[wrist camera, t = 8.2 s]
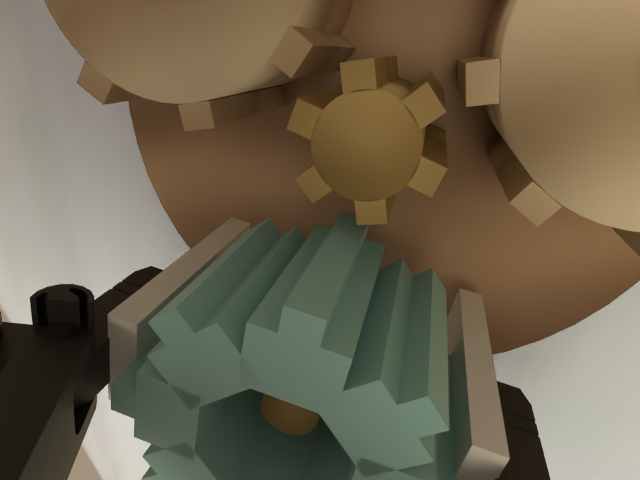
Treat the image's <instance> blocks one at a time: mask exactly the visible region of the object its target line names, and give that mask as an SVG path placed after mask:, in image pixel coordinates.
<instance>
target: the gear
mask: <svg viewBox="0 0 640 480" xmlns="http://www.w3.org/2000/svg"><path fill="white" fill-rule="evenodd" d="M368 226H369V225H357V221H356V215H353V214H350V213H346V212H343V211H342V213H341V214H340V216H339V217H338V219H337V221H336V222H335V224H334V225H333V227H332V229H331V228H327V227H324V226H321V225H316V227H315V228H314V230H313V231H312V232H311V234H310V235H309V237H308V238H307V239H305V237H304V236H303V234H302V233H301V231H300V229H299V228H298V226H297V227H295V228H293V229H291V230H289V231H287V232H285V233H284V234H282V235H281V234H280V232H279V231H278V229H277V228H276V226H275V225H274V223H273V222H272V220H271V219H270V218H268V219H267V220H265V221H263V222H261V223H260V224H258V225H256V226H254V227H252V228H251V229H249V230H248V231H247V232H246V233H245V234H244V235H242V236H241V237H240V238H239V239H238V240H237V241H236V242H235V243H234V244H233V245H232V246H230V247H229V248H228V249H227V250H226V251H225V252H224V253H223V254H222V255H221V256H220V257H218V258H217V259H216V260H215V261H214V262H213V263H212V264H211V265H210V266H209V267H208V268H207V269H205V270H204V271H203V272H202V273H201V274H200V275H199V276H198V277H197V278H196V279H195V280H193V281H192V282H191V283H190V284H189V285H188V286H187V287H186V288H185V289H184V290H183V291H181V292H180V293H179V294H178V295H177V296H176V297H175V298H174V299H173V300H172V301H171V302H169V303H168V304H167V305H166V306H165V307H164V308H163V309H162V310H161V311H160V312H159V313H157V314H156V315H155V316H154V317H153V318H152V319H151V320H150V321H149V322H148V324H149V325H150V326H151V328H152V329H153V330H154V331H155V333H156V334H157V335H158V338H157V339H156V340H155V341H154V342H153V343H152V344H151V345H150V346H149V347H148V348H147V349H146V350H145V351H144V352H143V353H142V354H141V355H140V356H139V357H138V358H137V359H135V360H134V361H133V362H132V363H131V364H130V365H129V366H128V367H127V368H126V369H125V370H124V371H123V372H122V373H121V374H120V375H119V376H118V377H117V378H116V379H115V380H114V381H113V382H112V383H111V410H114V411H117V412H119V413H122V414H124V415H127V416H129V417H132V418H134V419H135V420H134V437H136V438H138V439H141V440H143V441H146V442H148V443H151V445H150V447H149V448H148V449H147V451H146V452H145V453H144V455H143V458H144V459H145V460H146V461H147V462H148V463H149V465H150V468H149V469H148V471H147V472H146V473H145V475H144V476H143V478H142V480H456V478H455V473H454V442H453V411H452V380H451V355H449V354H448V346H447V303H446V290H445V288H444V286H443V284H442V283H441V281H440V279H439V277H438V276H437V274H436V272H435V270H434V269H433V268H430V269H428V270H426V271H423V272H421V273H418V274H416V275H414V276H413V275H412V273H411V272H410V270H409V268H408V266H407V265H406V263H405V261H404V260H403V258H402V259H400V260H398V261H395V262H393V263H391V264H389V265H386V266H384V267H382V268H380V269H379V266H380V263H381V259H382V256H383V252H384V249H385V245H383V244H380V243H377V242H373V241H370V240H367V239H365V236H366V233H367V229H368ZM264 394H267V395H270V396H272V397H275V398H278V399H281V400H283V401H286V402H289V403H292V404H294V405H297V406H300V407H302V408H305V409H308V410H311V411H313V412H316V413H319V414H320V416H319V419H318V422H317V425H316V427H315V428H314V429H313V430H312V431H311V432H309V433H307V434H304V435H290V434H286V433H283V432H281V431H279V430H277V429H275V428H274V427H273V426H272V425H270V424H269V423H268V422H267V420H266V419H265V417H264V416H263V414H262V411H261V401H262V398H263V396H264Z"/></svg>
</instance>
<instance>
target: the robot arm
mask: <svg viewBox="0 0 640 480" xmlns="http://www.w3.org/2000/svg"><path fill="white" fill-rule="evenodd" d="M249 229H250V223H248V222H245V221H241V220H238V219H235V218H232V217H231V218H230V219H229V220H227V221H226V222H225V223H223V224H222V225H221V226H220V227H218V228H217V229H216V230H214V231H213V232H212V233H211V234H209V235H208V236H207V237H206V238H204V239H203V240H202V241H200V242H199V243H198V244H197V245H195V246H194V247H193V248H191V249H190V250H189V251H188V252H186V253H185V254H184V255H183V256H181V257H180V258H179V259H177V260H176V261H175V262H174V263H172V264H171V265H170V266H168V267H167V268H166V269H165V270H161V269H158V268H155V267H152V266H150V267H147V268H144V269H141V270H138V271H135V272H134V273H132V274H131V275H129V276H128V277H127V278H125V279H124V280H123V281H122V282H120V283H118V284H117V285H115V286H114V287H113V289H110V290H108V291H107V292H106V293H104V294H103V295H101V296H100V297H99V298H97V299H96V300H94V295H93V294H92V292H91V291H90V290H89V289H87V288H85V287H83V286H79V285H74V284H59V285H54V286H49V287H46V288H44V289H41V290H39V291H37V292H36V293H35V294H33V295H32V296H31V297H30V303H31V313H32V322H33V325H28V324H18V323H8V322H2V317H1V312H0V480H67V479H68V476H69V474H70V471H71V469H72V466H73V464H74V461H75V459H76V456H77V454H78V451H79V449H80V446H81V444H82V441H83V439H84V436H85V434H86V431H87V429H88V426H89V424H90V421H91V419H92V417H93V414H94V412H95V409H96V404H97V394H98V393H99V392H100V391H101V390H102V389H103V388H104V387H105V386H106V385H107V384H108V389H109V399H110V400H111V383H112V382H113V381H114V380H115V379H116V378H117V377H118V376H119V375H120V374H121V373H122V372H123V371H124V370H125V369H126V368H127V367H128V366H129V365H130V364H131V363H132V362H133V361H134V360H135V359H137V358H138V357H139V356H140V355H141V354H142V353H143V352H144V351H145V350H146V349H147V348H148V347H149V346H150V345H151V344H152V343H153V342H154V341H155V340H156V339H157V338H158V335H157V334H156V333H155V331H154V330H153V329H152V328H151V326H150V325H149V324H148V322H149V321H150V320H151V319H152V318H153V317H154V316H155V315H156V314H157V313H159V312H160V311H161V310H162V309H163V308H164V307H165V306H166V305H167V304H168V303H169V302H171V301H172V300H173V299H174V298H175V297H176V296H177V295H178V294H179V293H180V292H181V291H183V290H184V289H185V288H186V287H187V286H188V285H189V284H190V283H191V282H192V281H193V280H195V279H196V278H197V277H198V276H199V275H200V274H201V273H202V272H203V271H204V270H205V269H207V268H208V267H209V266H210V265H211V264H212V263H213V262H214V261H215V260H216V259H217V258H218V257H220V256H221V255H222V254H223V253H224V252H225V251H226V250H227V249H228V248H229V247H230V246H232V245H233V244H234V243H235V242H236V241H237V240H238V239H239V238H240V237H241V236H242V235H244V234H245V233H246V232H247V231H248V230H249ZM447 346H448V354H449V355H451V380H452V411H453V442H454V473H455V478H456V480H550V476H549V473H548V469H547V465H546V461H545V457H544V453H543V449H542V445H541V441H540V438H539V437H538V430H537V426H536V424H535V418H534V414H533V410H532V406H531V404H530V403H529V401H528V400H527V398H526V397H525V395H524V394H523V392H522V391H521V390H520V389H519V388H516V387H513V386H510V385H507V384H504V383H501V382H498V381H497V380H496V374H495V368H494V362H493V356H492V351H491V345H490V339H489V333H488V327H487V321H486V315H485V309H484V304H483V298H482V295H480V294H477V293H474V292H471V291H467V290H464V289H461V288H459V291H458V293H457V296H456V298H455V300H454V303H453V305H452V307H451V310H450V312H449V315H448V317H447Z"/></svg>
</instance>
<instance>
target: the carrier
mask: <svg viewBox="0 0 640 480" xmlns="http://www.w3.org/2000/svg"><path fill="white" fill-rule="evenodd" d="M44 1H45V3H46V5H47V7H48V9H49V11H50V13H51V14H52V16H53V18H54V19H55V21H56V23H57V25H58V26H59V28H60V29H61V31H62V32H63V34H64V35H65V36H66V38H67V39H68V40H69V42H70V43H71V45H72V46H73V47H74V48H75V49H76V50H77V51H78V53H79V54H80V55H81V56H82V57H83V58H84V59H85V60H86V61H85V63H84V66H83V68H82V71H81V73H80V76H79V78H78V81H77V83H78V84H79V85H80V86H81V87H82V88H84V89H85V90H86V91H87V92H89V93H90V94H91V95H92V96H94V97H95V98H96V99H97V100H98V101H100V102H101V103H102V104H103V105H104V104H110V103H117V102H123V101H129V108H130V113H131V117H132V122H133V126H134V131H135V135H136V139H137V144H138V147H139V150H140V152H141V155H142V158H143V161H144V164H145V167H146V170H147V173H148V176H149V178H150V180H151V182H152V184H153V187H154V189H155V191H156V193H157V195H158V197H159V200H160V202H161V204H162V206H163V208H164V209H165V211H166V213H167V214H168V216H169V218H170V219H171V221H172V223H173V224H174V226H175V228H176V229H177V231H178V233H179V234H180V235H181V237H182V238H183V239H184V241H185V242H186V243H187V245H188V246H189V247H190V249H191V248H193V247H194V246H195V245H197V244H198V243H199V242H200V241H202V240H203V239H204V238H206V237H207V236H208V235H209V234H211V233H212V232H213V231H214V230H216V229H217V228H218V227H220V226H221V225H222V224H223V223H225V222H226V221H227V220H229V219H230V218H231V217H232V218H235V219H238V220H241V221H245V222H248V223H250V229H251V228H252V227H254V226H256V225H258V224H260V223H261V222H263V221H265V220H267V219H268V218H270V219H271V220H272V222H273V223H274V225H275V226H276V228H277V229H278V231H279V232H280V234H281V235H282V234H284V233H285V232H287V231H289V230H291V229H293V228H295V227H297V226H298V228H299V229H300V231H301V233H302V234H303V236H304V237H305V239H307V238H308V237H309V235H310V234H311V232H312V231H313V230H314V228H315V227H316V225H321V226H324V227H327V228H331V229H332V227H333V225H334V224H335V222H336V221H337V219H338V217H339V216H340V214H341V213H342V211H343V212H346V213H350V214H353V215H356V221H357V225H369V226H368V229H367V233H366V236H365V239H367V240H370V241H373V242H377V243H380V244H383V245H385V249H384V252H383V256H382V259H381V263H380V266H379V269H380V268H382V267H384V266H386V265H389V264H391V263H393V262H395V261H398V260H400V259H402V258H403V260H404V261H405V263H406V265H407V266H408V268H409V270H410V272H411V273H412V275H413V276H414V275H416V274H418V273H421V272H423V271H426V270H428V269H430V268H433V269H434V270H435V272H436V274H437V276H438V277H439V279H440V281H441V283H442V284H443V286H444V288H445V290H446V303H447V317H448V315H449V312H450V310H451V307H452V305H453V303H454V300H455V298H456V296H457V293H458V291H459V288H461V289H464V290H467V291H471V292H474V293H477V294H480V295H482V298H483V304H484V309H485V315H486V321H487V327H488V333H489V339H490V345H491V351H492V354H497V353H501V352H506V351H509V350H512V349H515V348H518V347H521V346H524V345H527V344H530V343H533V342H536V341H539V340H542V339H544V338H546V337H548V336H551V335H553V334H555V333H557V332H559V331H562V330H564V329H566V328H568V327H570V326H572V325H575V324H576V323H578V322H580V321H581V320H583V319H585V318H586V317H588V316H590V315H591V314H593V313H595V312H596V311H598V310H600V309H601V308H603V307H605V306H606V305H608V304H610V303H611V302H612V301H613V300H615V299H616V298H617V297H619V296H620V295H621V294H623V293H624V292H625V291H627V290H628V289H629V288H630V287H632V286H633V285H634V284H636V283H637V282H638V281H640V0H44ZM261 411H262V414H263V416H264V417H265V419H266V420H267V422H268V423H269V424H270V425H272V426H273V427H274V428H275V429H277V430H279V431H281V432H283V433H286V434H290V435H304V434H307V433H309V432H311V431H312V430H313V429H314V428H315V427H316V425H317V422H318V419H319V416H320V414H319V413H316V412H313V411H311V410H308V409H305V408H302V407H300V406H297V405H294V404H292V403H289V402H286V401H283V400H281V399H278V398H275V397H272V396H270V395H267V394H264V396H263V398H262V401H261Z"/></svg>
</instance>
